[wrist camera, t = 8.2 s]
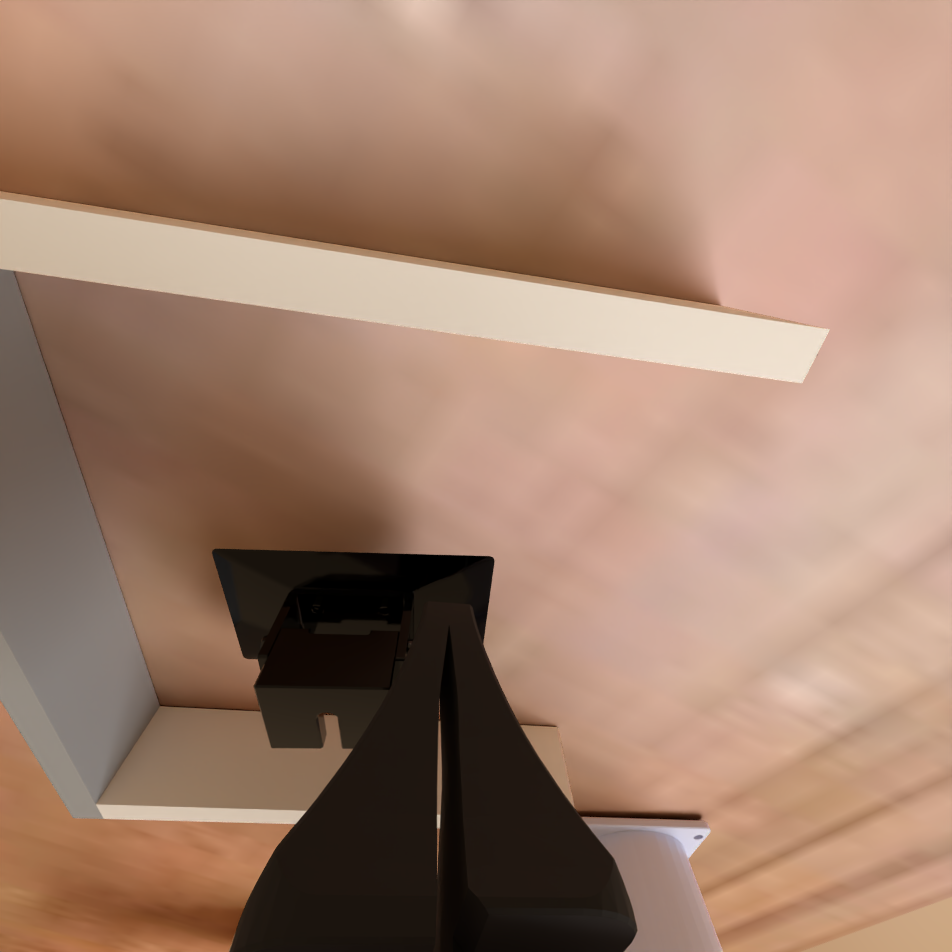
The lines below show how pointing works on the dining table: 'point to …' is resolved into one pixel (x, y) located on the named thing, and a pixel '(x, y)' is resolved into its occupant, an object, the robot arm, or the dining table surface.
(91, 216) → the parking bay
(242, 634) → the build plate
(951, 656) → the dining table surface
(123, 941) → the dining table surface
